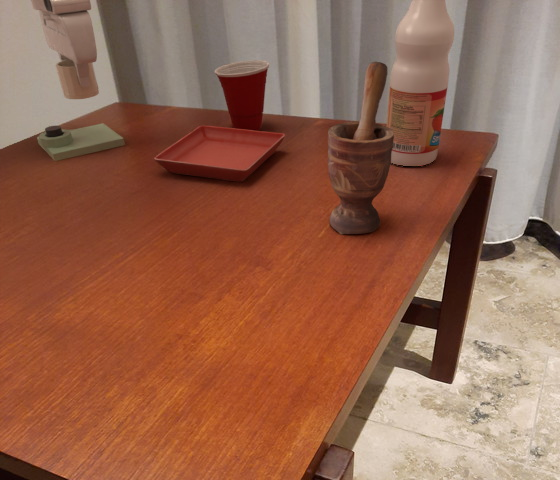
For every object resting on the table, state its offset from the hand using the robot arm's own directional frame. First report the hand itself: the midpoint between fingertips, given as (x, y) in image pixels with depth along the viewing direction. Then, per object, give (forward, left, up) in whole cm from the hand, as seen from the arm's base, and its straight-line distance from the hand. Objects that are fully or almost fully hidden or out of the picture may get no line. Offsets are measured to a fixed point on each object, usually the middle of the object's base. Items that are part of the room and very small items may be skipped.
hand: (78, 82), depth 105 cm
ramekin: (0, 0, -2) cm, 2 cm away
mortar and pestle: (+20, -59, -11) cm, 63 cm away
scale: (-3, 0, -11) cm, 11 cm away
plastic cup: (+28, -13, -11) cm, 33 cm away
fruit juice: (+43, -46, -11) cm, 64 cm away
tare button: (-7, 0, -9) cm, 11 cm away
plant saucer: (+15, -27, -11) cm, 33 cm away
